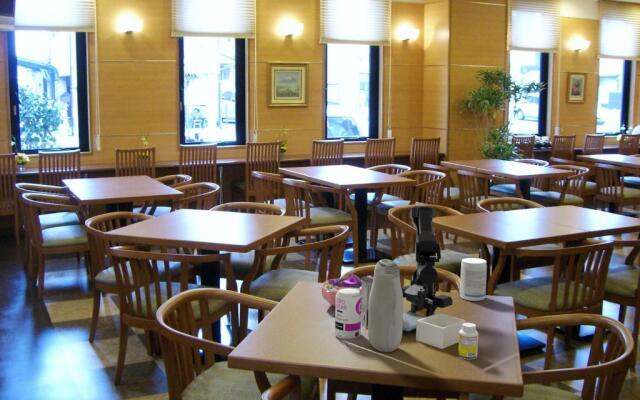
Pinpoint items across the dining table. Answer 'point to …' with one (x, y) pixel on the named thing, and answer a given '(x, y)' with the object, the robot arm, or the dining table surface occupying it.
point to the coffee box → (365, 299)
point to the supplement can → (348, 313)
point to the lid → (412, 319)
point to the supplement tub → (473, 279)
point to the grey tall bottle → (385, 307)
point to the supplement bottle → (468, 341)
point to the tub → (439, 330)
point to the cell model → (339, 287)
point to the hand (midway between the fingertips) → (423, 321)
